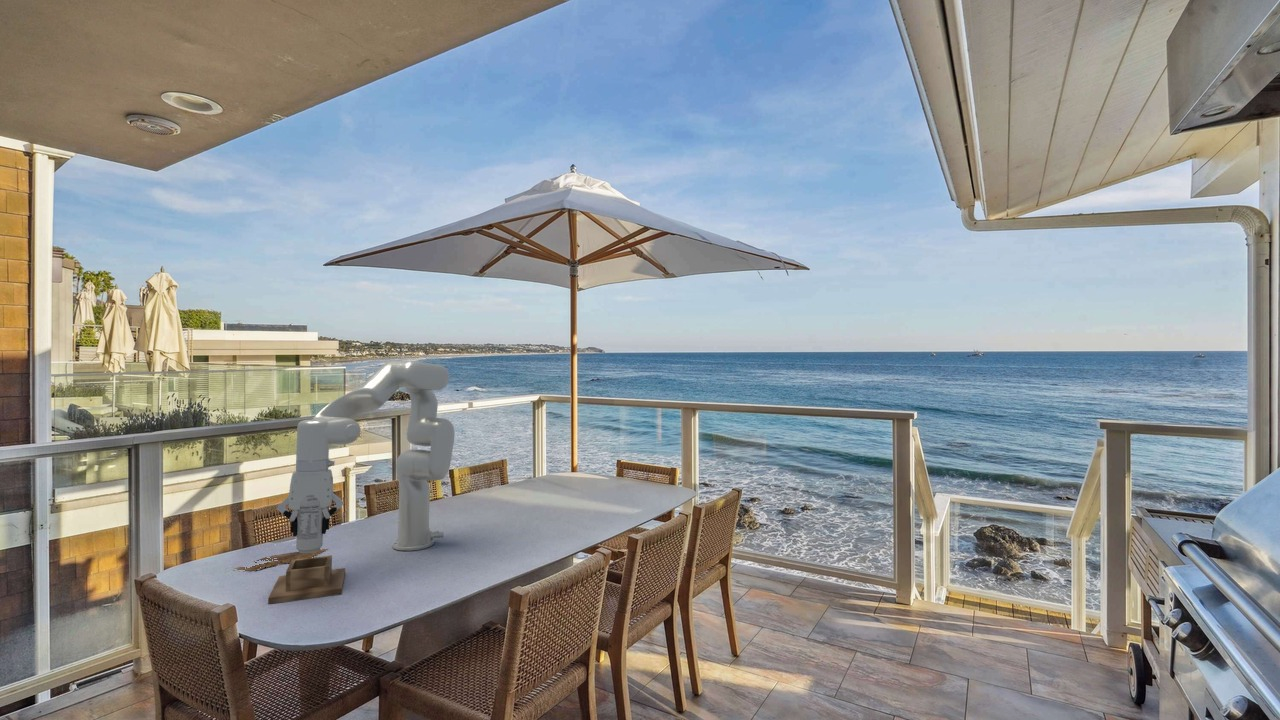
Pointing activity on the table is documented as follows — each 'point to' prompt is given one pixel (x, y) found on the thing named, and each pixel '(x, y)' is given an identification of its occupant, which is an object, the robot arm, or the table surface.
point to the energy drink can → (309, 525)
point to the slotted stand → (308, 580)
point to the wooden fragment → (281, 559)
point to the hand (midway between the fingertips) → (310, 533)
